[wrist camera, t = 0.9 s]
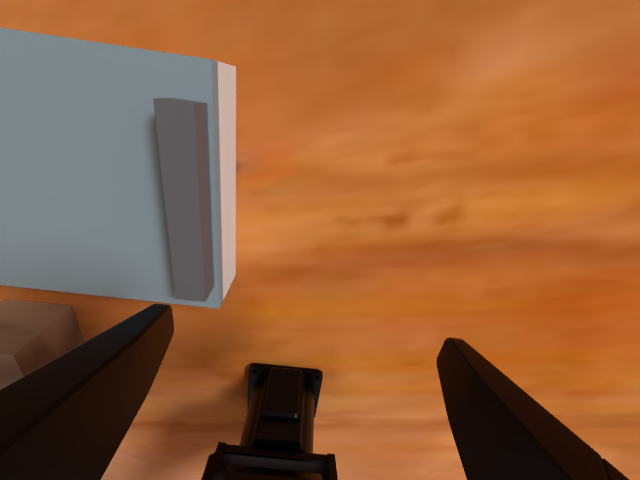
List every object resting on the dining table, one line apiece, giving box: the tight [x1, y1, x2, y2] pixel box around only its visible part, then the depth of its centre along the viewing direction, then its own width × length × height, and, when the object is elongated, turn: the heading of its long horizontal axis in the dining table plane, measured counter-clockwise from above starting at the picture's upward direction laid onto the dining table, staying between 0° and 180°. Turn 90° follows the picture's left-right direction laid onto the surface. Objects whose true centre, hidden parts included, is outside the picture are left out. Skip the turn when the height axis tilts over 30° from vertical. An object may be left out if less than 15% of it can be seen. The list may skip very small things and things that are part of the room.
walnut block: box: [0, 299, 84, 389], centre depth 22 cm, size 5×5×5 cm
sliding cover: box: [0, 28, 223, 309], centre depth 15 cm, size 13×15×2 cm
